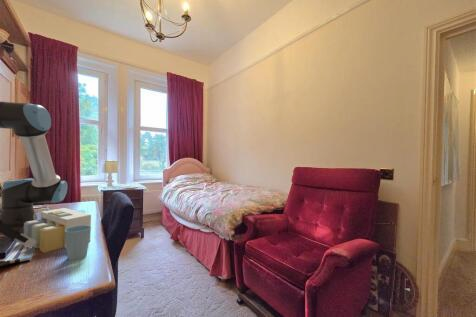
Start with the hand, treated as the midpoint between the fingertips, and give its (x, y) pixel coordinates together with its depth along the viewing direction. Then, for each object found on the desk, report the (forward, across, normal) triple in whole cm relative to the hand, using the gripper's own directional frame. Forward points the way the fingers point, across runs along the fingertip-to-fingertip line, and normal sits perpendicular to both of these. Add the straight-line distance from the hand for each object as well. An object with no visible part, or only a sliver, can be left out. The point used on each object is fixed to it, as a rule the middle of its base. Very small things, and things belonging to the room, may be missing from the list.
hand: (33, 244), depth 80 cm
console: (+12, -8, +6) cm, 15 cm away
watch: (+12, -28, +6) cm, 31 cm away
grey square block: (+7, -15, +2) cm, 17 cm away
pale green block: (+7, -8, +2) cm, 11 cm away
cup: (+8, +15, +2) cm, 17 cm away
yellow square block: (+7, 0, +2) cm, 8 cm away
